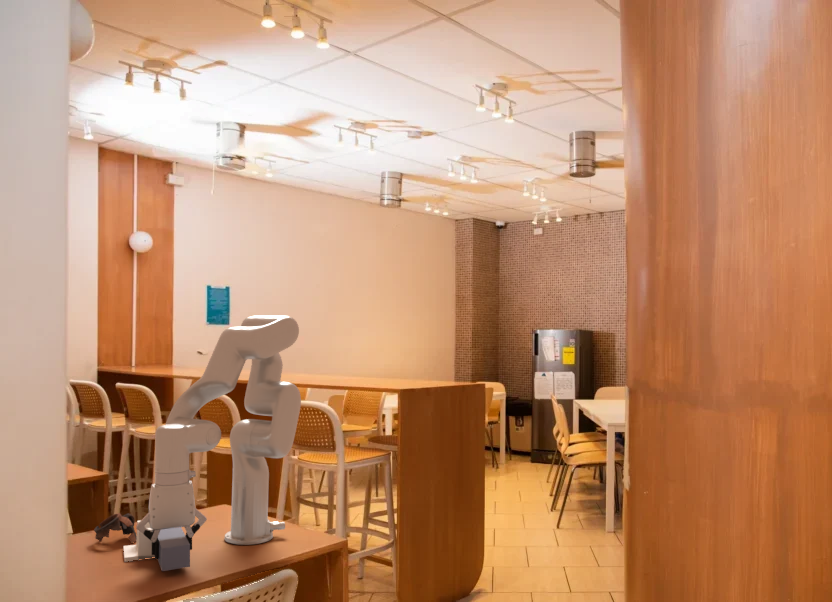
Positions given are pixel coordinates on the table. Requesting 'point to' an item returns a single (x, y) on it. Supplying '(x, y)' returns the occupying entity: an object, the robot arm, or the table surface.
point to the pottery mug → (117, 526)
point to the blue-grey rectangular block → (173, 549)
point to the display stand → (139, 547)
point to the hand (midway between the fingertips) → (171, 554)
